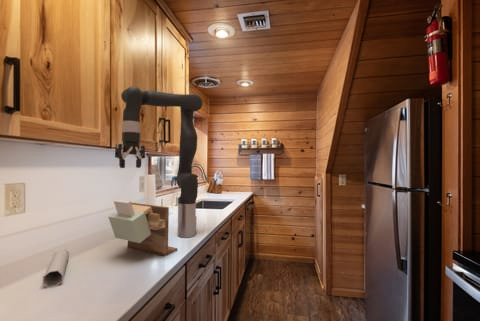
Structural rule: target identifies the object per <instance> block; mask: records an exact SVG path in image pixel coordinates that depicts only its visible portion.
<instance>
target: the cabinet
mask: <svg viewBox="0 0 480 321" xmlns="http://www.w3.org/2000/svg"><path fill="white" fill-rule="evenodd" d="M132 203H133V202H132V201H131V200H125V199H115V200H113V204H114V206H115V210H116V211H115V212H114V213H112V214H110V215H109V216H107V218H108V220H109V223H110V226H111V228H112V232H113V234H114V238H115V239H119V240H125V241H127V242H128V241H132V242H137V243H141V242H142V241H143V240H144V239H146V238H147V237H148V236H149V235H151V232H150V229H149V225H148V222H147V218H146V214H147V213H153V212H152V208H151V207H149V206H142V205H134V204H132Z"/></svg>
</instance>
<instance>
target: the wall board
mask: <svg viewBox="0 0 480 321" xmlns="http://www.w3.org/2000/svg"><path fill="white" fill-rule="evenodd" d="M131 203H132V204H134V205H142V206H149V207H151V208H152V212H153V213H147V214H146V218H147V222H148V225H149V229H150V232H151V235H149V236H148V237H147V238H146V239H144V240H143V241H142V242H141V243H137V242H132V241H128V240H127V248H128V249H131V250H136V251H140V252H144V253H149V254H153V255H158V256H161V257H166V256H168V255H171V254H173V253H176V252H178V250H179V249H178V247H173V246H170V245H169V225H170V224H169V222H170V221H169V213H170V210H169V209H170V208H169V207H168V206H161V205H160V206H159V205H153V204H144V203H136V202H131Z"/></svg>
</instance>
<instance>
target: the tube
mask: <svg viewBox="0 0 480 321" xmlns="http://www.w3.org/2000/svg"><path fill="white" fill-rule="evenodd" d="M52 255H53V256H52V257H51V261H50V263H49V265H48V267H47V269H46V271H45V273H44V275H42V285H43V286H45V288H54V287H57V286H59V285H60V284H62V283H63V282H64V276H65V271H66V269H67V265H68V261H69V257H70V252H69V250H68V249H66V248H62V249H60V248H59V249H58V250H57V251H56V252H54V253H53V254H52Z"/></svg>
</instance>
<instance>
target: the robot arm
mask: <svg viewBox="0 0 480 321" xmlns="http://www.w3.org/2000/svg"><path fill="white" fill-rule="evenodd" d="M120 96H121V97H120V98H121V99H122V101H123V102H124V103H125V108H124V109H123V112H122V124H121V125H122V126H121V130H122V131H121V142H122V143H116V144H115V149H114V150H115V152H114V153H115V154H114V158H116V159H118V160H119V164H118V166H119V168H120V169H125V168H126V160H125V159H126V157H127V156H129V155H133V156H134V157H135V159H136V160H135V168H137V169H138V168H139V169H140V168H141V166H142V160H143V159H145V158H146V146H145V145H140V142H141V124H140V123H141V120H140V119H141V110H142V106H151V107H165V108H166V107H167V108H168V107H170V108H171V107H177V108H178V107H179V108H180V109H179V110H180V136H179V151H178V152H179V154H178V157H179V160H178V162H179V163H178V169H177V176H176V184H177V186H178V188H179V189H180V195H179V197H178V199H177V237H179V238H185V239H186V238H193V237H194V236H196V234H197V216H196V213H197V211H196V208H197V198H198V191H199V182H198V180H199V179H198V177H197V175H196V174H194V173H193V172H192V169H193V166H192V165H193V162H194V159H195V156H196V153H197V151H198V150H197V149H198V135H197V134H198V133H197V131H196V127H195V125H194V113H195V112H197V111H199V110H201V109H202V107H203V105H204V104H203V100H202V98H201V96H200V95H198V94H195V93H189V94H183V93H182V94H181V93H180V94H178V93H169V92H163V91H157V90H156V91H155V90H143V91H142V90H141V89H140V88H139V87H138V86H129V87H127V88H126V89H124V90H123V91H122V93H121V94H120Z"/></svg>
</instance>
